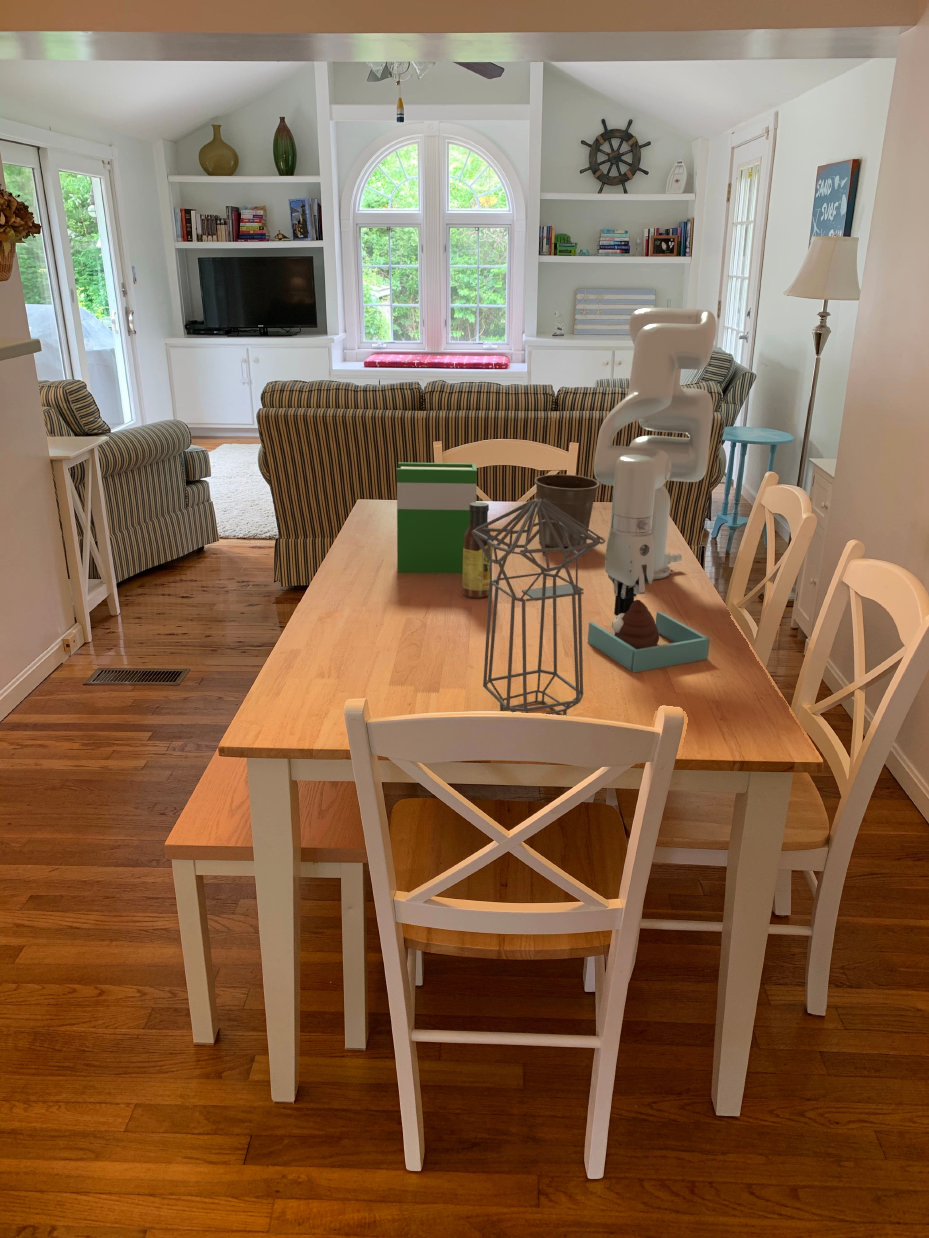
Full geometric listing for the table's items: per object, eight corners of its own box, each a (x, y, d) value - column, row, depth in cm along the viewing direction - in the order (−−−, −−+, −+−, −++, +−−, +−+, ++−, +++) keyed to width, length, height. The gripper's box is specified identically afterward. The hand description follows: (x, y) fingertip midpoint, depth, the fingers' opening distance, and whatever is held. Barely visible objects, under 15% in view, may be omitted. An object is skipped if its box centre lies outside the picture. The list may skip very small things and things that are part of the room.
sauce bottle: (488, 600, 198) (491, 509, 191) (459, 597, 199) (461, 506, 192) (493, 590, 204) (496, 501, 197) (465, 588, 205) (467, 499, 198)
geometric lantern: (510, 747, 138) (513, 516, 126) (467, 705, 152) (467, 493, 140) (601, 728, 144) (613, 505, 132) (552, 689, 158) (559, 484, 146)
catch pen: (658, 630, 184) (660, 611, 182) (707, 659, 171) (710, 638, 169) (587, 642, 177) (589, 622, 176) (633, 672, 164) (635, 651, 163)
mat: (569, 585, 209) (569, 583, 209) (583, 593, 204) (583, 592, 203) (521, 591, 204) (521, 590, 204) (535, 600, 199) (535, 598, 199)
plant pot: (605, 541, 243) (610, 479, 237) (578, 555, 230) (582, 491, 224) (549, 530, 251) (553, 471, 245) (520, 544, 238) (523, 482, 232)
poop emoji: (651, 658, 171) (656, 610, 167) (606, 650, 174) (609, 603, 170) (662, 639, 179) (667, 593, 176) (618, 632, 182) (622, 587, 179)
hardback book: (397, 572, 214) (396, 469, 206) (398, 563, 221) (398, 462, 213) (474, 573, 215) (476, 470, 206) (473, 564, 222) (475, 463, 213)
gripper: (672, 531, 168) (662, 626, 175) (625, 511, 181) (618, 600, 188) (637, 535, 165) (628, 631, 172) (592, 515, 178) (586, 605, 185)
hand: (623, 615), depth 180 cm, fingers closed
